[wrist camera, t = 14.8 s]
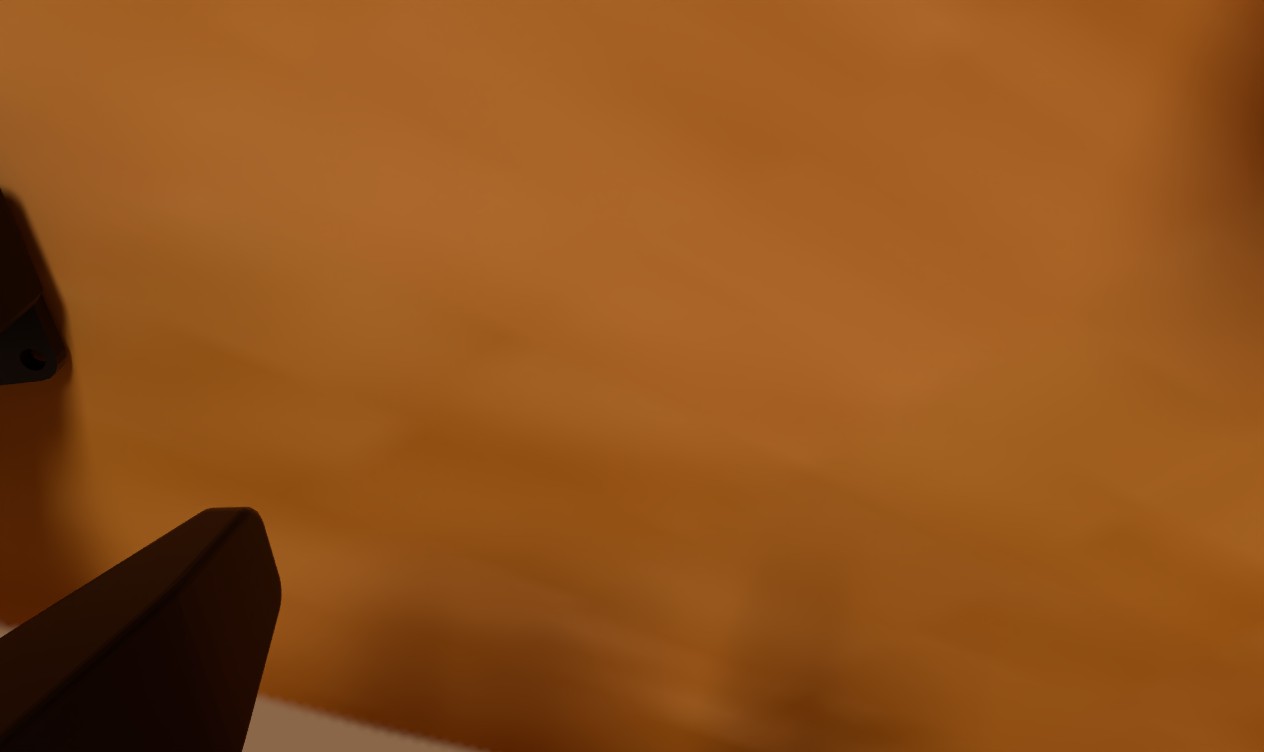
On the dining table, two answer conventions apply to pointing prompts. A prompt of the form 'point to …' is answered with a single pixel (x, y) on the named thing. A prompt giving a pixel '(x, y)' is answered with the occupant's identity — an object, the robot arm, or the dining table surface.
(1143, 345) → the dining table surface
